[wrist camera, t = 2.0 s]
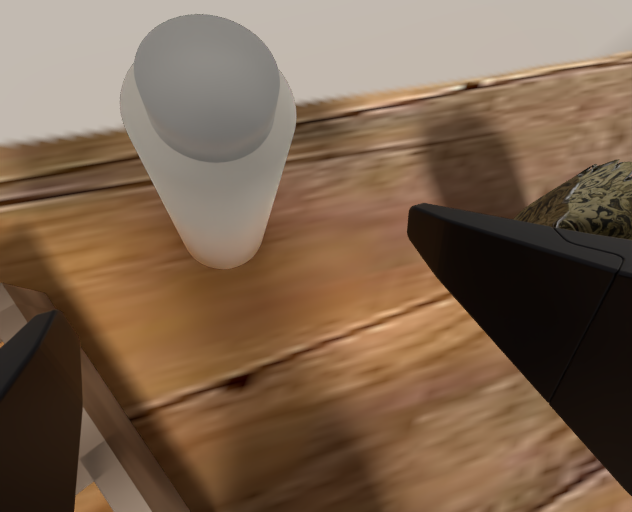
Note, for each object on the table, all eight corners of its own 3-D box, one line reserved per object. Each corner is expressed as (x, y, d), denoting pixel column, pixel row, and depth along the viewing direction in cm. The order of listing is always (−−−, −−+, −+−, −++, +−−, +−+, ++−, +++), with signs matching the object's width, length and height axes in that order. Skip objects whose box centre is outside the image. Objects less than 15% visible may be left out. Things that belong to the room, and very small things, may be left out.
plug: (278, 241, 21) (339, 109, 9) (211, 285, 19) (177, 198, 7) (234, 179, 21) (237, -30, 9) (165, 218, 20) (61, 32, 8)
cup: (460, 205, 24) (566, 143, 16) (554, 222, 25) (692, 173, 18) (460, 318, 22) (579, 308, 15) (562, 330, 24) (718, 327, 16)
